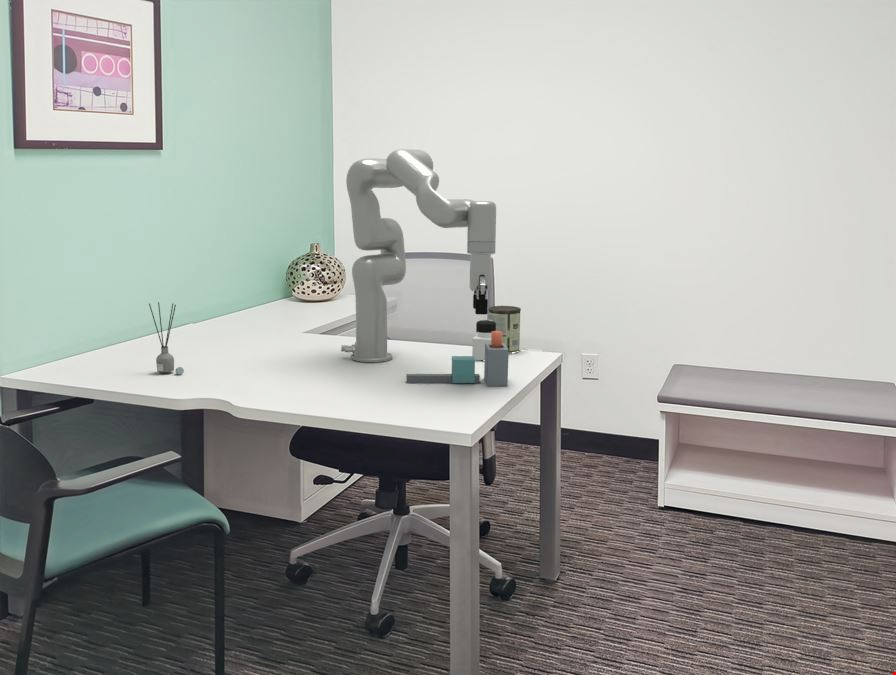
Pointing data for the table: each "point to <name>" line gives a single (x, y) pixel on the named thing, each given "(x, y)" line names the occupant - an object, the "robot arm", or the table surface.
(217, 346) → the table surface
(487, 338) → the medicine bottle
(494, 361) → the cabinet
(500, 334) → the plunger
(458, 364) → the block
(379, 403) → the table surface
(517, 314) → the coffee can
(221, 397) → the table surface
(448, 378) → the rail
